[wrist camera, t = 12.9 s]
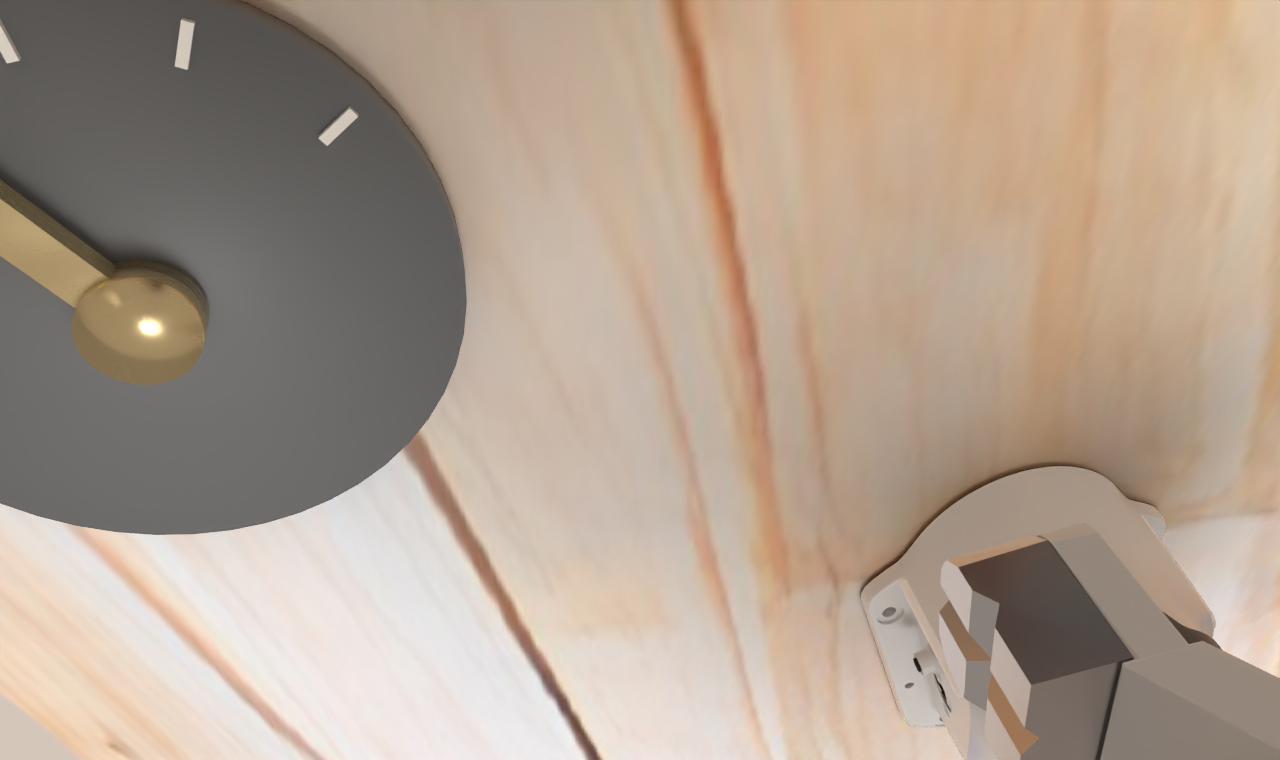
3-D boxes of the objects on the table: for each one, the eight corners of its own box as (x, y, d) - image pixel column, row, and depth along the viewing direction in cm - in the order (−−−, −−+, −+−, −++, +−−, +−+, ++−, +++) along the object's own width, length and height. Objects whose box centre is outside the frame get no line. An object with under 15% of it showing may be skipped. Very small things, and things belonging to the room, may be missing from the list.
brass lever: (234, 312, 39) (206, 442, 33) (155, 376, 40) (114, 515, 34) (-120, 37, 32) (-244, 139, 25) (-208, 125, 33) (-348, 245, 26)
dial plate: (520, 437, 48) (524, 461, 47) (7, 566, 47) (-4, 594, 45) (359, -103, 34) (358, -92, 32) (-398, 56, 32) (-433, 75, 31)
